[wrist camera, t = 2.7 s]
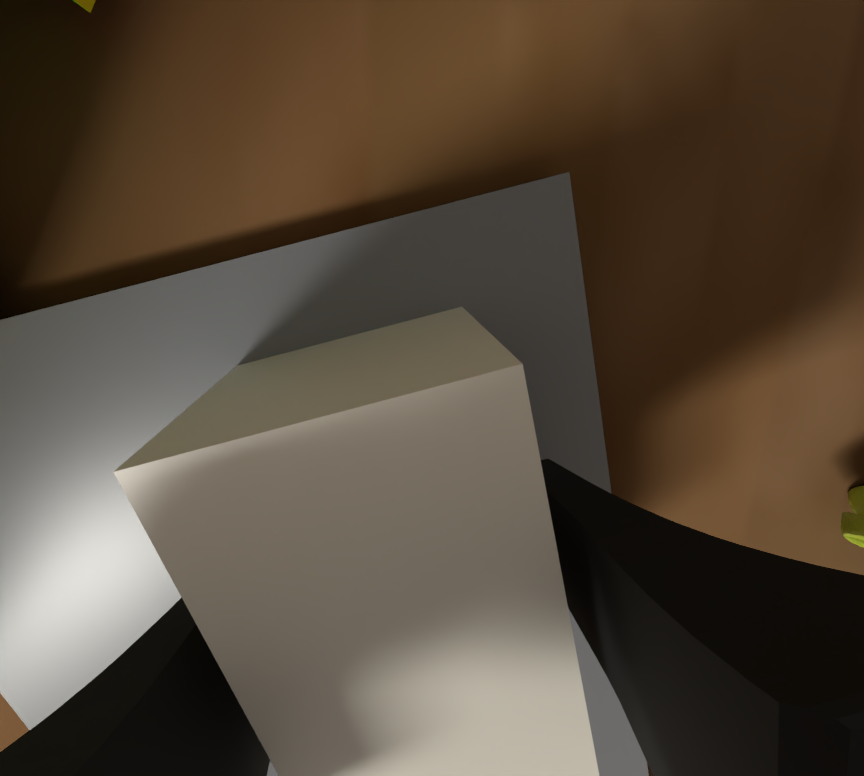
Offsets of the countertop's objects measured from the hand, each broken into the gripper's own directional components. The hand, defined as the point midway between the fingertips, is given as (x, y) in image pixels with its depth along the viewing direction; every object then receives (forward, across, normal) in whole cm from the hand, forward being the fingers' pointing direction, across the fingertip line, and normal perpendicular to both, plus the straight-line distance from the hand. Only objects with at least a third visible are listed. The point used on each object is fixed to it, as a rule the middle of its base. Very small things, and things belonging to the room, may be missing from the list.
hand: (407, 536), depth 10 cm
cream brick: (+1, 0, 0) cm, 1 cm away
